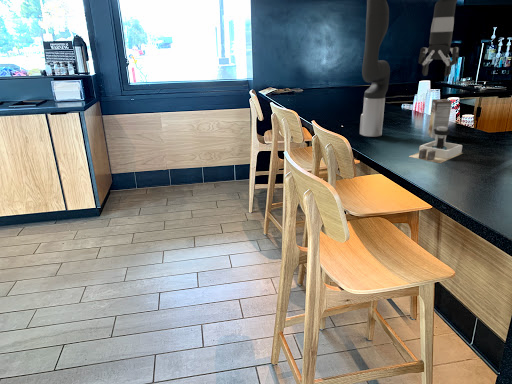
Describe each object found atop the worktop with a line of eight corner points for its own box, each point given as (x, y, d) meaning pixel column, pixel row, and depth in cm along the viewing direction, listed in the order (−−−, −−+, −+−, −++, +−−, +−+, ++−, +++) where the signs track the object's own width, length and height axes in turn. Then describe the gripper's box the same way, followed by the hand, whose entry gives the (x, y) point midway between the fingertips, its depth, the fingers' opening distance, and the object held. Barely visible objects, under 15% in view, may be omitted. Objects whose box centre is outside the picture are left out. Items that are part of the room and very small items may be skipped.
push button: (446, 151, 147) (450, 125, 143) (452, 155, 142) (456, 128, 139) (428, 151, 148) (432, 125, 144) (433, 155, 143) (437, 128, 139)
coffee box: (427, 134, 180) (431, 99, 174) (441, 134, 179) (447, 99, 173) (431, 138, 171) (436, 102, 166) (446, 138, 170) (452, 102, 164)
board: (407, 159, 143) (409, 148, 142) (431, 150, 154) (433, 140, 152) (439, 166, 134) (441, 154, 133) (462, 156, 145) (464, 145, 143)
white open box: (418, 153, 146) (419, 145, 145) (433, 147, 153) (434, 140, 151) (446, 159, 138) (447, 151, 137) (461, 152, 145) (462, 145, 144)
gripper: (465, 30, 141) (458, 76, 147) (428, 31, 151) (423, 74, 157) (456, 30, 137) (449, 77, 143) (418, 31, 147) (413, 75, 153)
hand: (435, 75), depth 150 cm, fingers open, 8 cm apart
